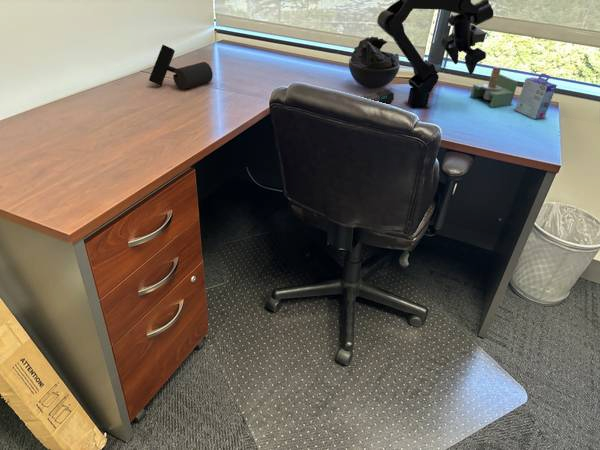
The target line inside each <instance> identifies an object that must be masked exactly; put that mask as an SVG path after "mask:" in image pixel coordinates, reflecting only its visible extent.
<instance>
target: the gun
mask: <svg viewBox="0 0 600 450" xmlns="http://www.w3.org/2000/svg"><path fill="white" fill-rule="evenodd" d="M362 97H364V98H367V99H371V100H374V101H379V102H382V103H386V104H390V105H392V103H393V101H394V100H395V93H394V92H393V91H392V90H390V89H388V88H385V89H382V90H379V91H375V92H373V93H370V94H367V95H362Z"/></svg>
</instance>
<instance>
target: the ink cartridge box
mask: <svg viewBox="0 0 600 450" xmlns="http://www.w3.org/2000/svg"><path fill="white" fill-rule="evenodd" d="M544 77H545V78H544ZM550 78H551V75H549V74H546V73H543V72H542V73H541V74H540V75H539V76H538V78H537V77H525V79H524V81H523V84H522V87H521V91H520V94H519V97H518V99H517V102H516V105H515V108H514V111H516V112H519V113H520V114H523V115H525V116H527V117H530V118H532V119H534V120H537V119H545V118H546V116H547V112H548V110H549V107H550V105H551V102H552V99H553V96H554V94H555V91H556V88H557V86H558V85H557V84H555V83H551V82H549V79H550Z"/></svg>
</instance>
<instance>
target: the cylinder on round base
mask: <svg viewBox="0 0 600 450" xmlns="http://www.w3.org/2000/svg"><path fill="white" fill-rule="evenodd" d="M492 67H493V68H492V71H491V73H490V78H489V81H488V83H489V84H483V85H482V88H483V89H485V90H486V91H485V94H484V96H483V99H484V100H487V101H491V100H492V97H493V96H491V95H489V94H488V93H489V92H490V91H500V90H501V87H500V86H498V85H496V84H497V80H498V77H499V74H501V70H502V67H501V66H500V65H493V66H492Z"/></svg>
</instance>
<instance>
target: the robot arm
mask: <svg viewBox="0 0 600 450" xmlns="http://www.w3.org/2000/svg"><path fill="white" fill-rule="evenodd" d="M413 10H443V11H448V12H450V13H454V14H450V16H449V17H448V18H447V19H446V22H447V23H448V24H449V25H451V26H452V28H453V30H452V31H453V33H451V34H449V35H447V36H445V37H443V38H442V39H441V41H440V44H441V47H442V48H443V49H444V50H445V53H447V55H448V56H449V58H450V59H451V60H452V63H453V64H455V65H457V64H459V53H465V56H464V65H465V66H466V68H467V71H468V73H469V75H472V74H474V71H475V69H476V66H477V64H478V63H480V62H481V61H484V60H485V59H486V58H487V52H486V51H484V50H483V49H481V48H480V47H476V48H474V49H473V48H472V47H474V46H476V44H477V43H485V40H486V36H487V32H486V31H484V30H483V29H481V28H477V26H478V25H480V24H482V23H485V22H487V21H490V20H491V19H493V17H494V9H493V7H492V4H490V1H489V0H481V1H479V2H477V3H475V4H474V3H473V2H472V0H397V1H396V2H394V3H393V4H391V5H389V6H388V7H387V8H386V9H385V10H383V11H381V12H380V13H379V14H378V17H377V20H376V23H377V25H378V27H379V28H381V30H383V32H385V33H386V34H387V35H388V36H390V37H391V39H393V41H394V42H395V44H396V45H397V47H398V48H399V49H400V51H401V53H402V54H403V55H404V56H405V58H406V59H407V61H408V62H409V63H410V65H411V67H412V69H413V74H414V75H413V76H411V78H410V79H408V85H409V86H410V87H409V92H408V99H407V100H405V103H406V104H407V105H408V106H409V107H410V108H412V109H428V108H429V106H428V103H429V98H430V93H432V91H433V89H434V87H435V86H436V84H437V83H438V81H439V79H440V78H439V77H440V76H439V71H438V70H437V69H436V67H435V65H434V63H432V62H430V61H429V60H428V59H423V58H422V56H421V54H420V53H419V51H418V50H417V49H416V47H415V46H414V44H413V42H412V41H411V40H410V38H409V37H408V35H407V34H406V32H405V26H404V22H405V21H406V20H407V18H408V17H409V15H410V13H411V12H412V11H413Z"/></svg>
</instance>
